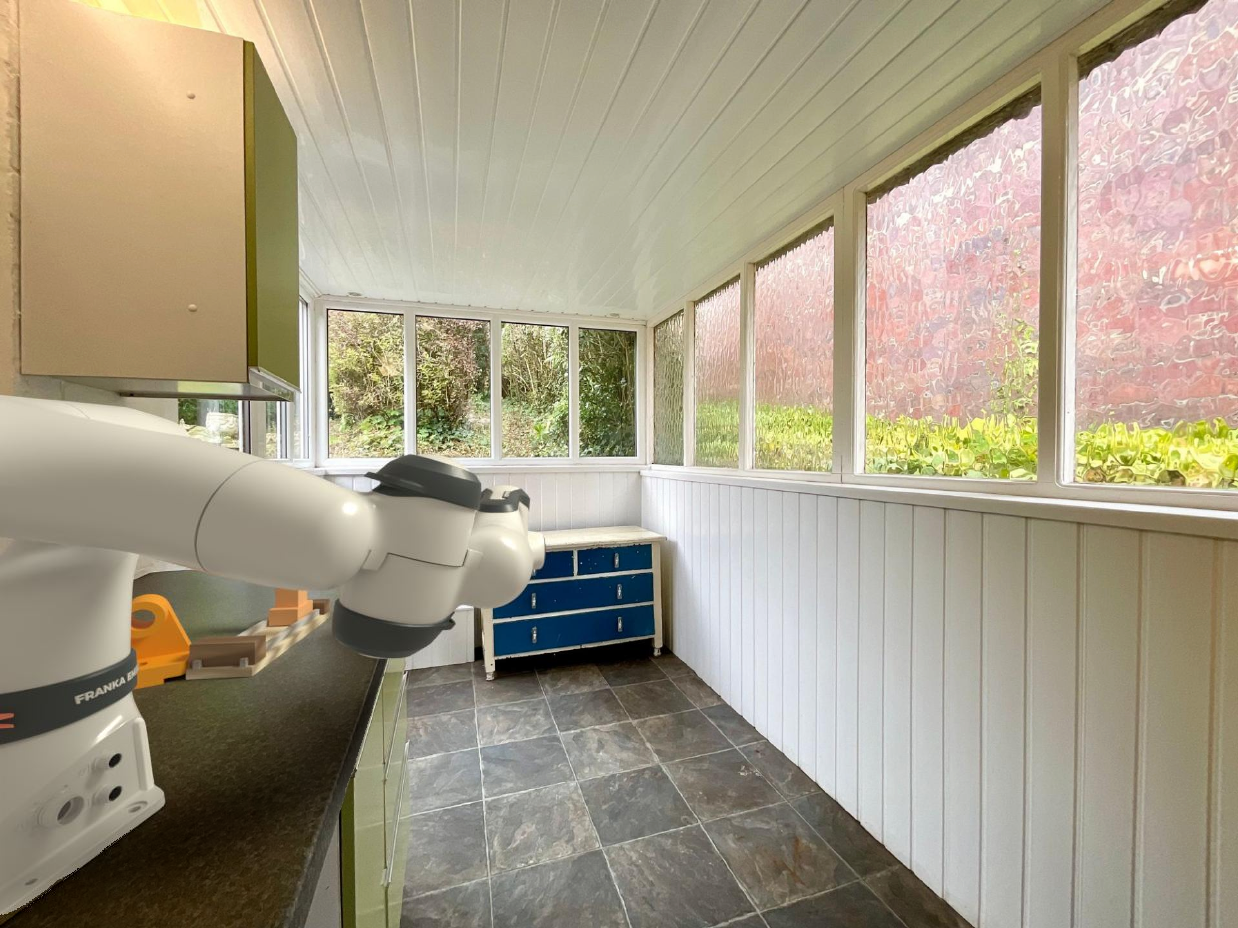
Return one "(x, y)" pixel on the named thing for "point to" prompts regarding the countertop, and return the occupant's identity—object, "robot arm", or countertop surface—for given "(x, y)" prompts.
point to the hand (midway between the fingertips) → (393, 551)
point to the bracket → (158, 642)
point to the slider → (289, 607)
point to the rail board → (265, 661)
